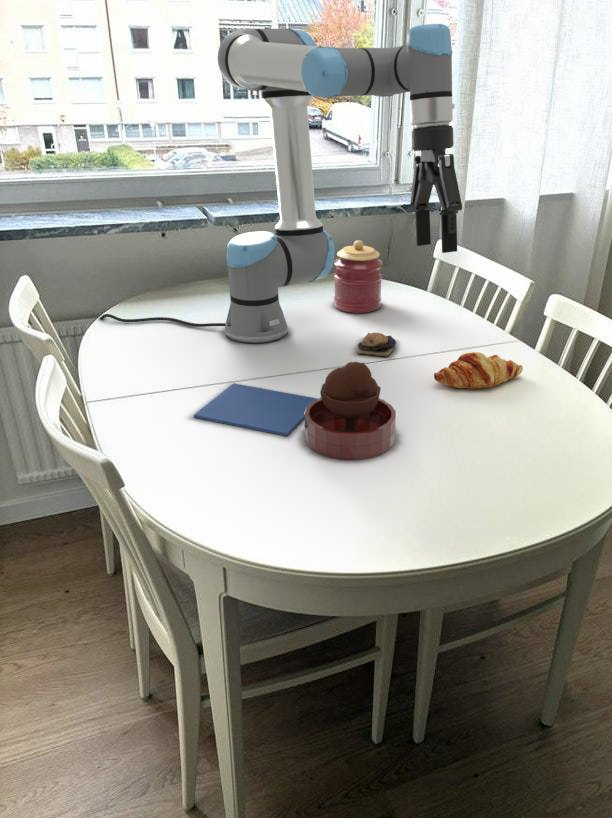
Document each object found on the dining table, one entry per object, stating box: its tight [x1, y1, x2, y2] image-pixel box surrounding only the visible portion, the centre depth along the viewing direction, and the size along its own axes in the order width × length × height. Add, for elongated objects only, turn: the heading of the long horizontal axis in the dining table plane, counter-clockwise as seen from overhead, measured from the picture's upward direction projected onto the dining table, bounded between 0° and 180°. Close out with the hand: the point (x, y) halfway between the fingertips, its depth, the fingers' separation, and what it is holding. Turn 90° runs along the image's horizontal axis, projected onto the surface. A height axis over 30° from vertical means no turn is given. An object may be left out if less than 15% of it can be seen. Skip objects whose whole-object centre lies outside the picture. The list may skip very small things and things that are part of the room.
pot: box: [304, 397, 397, 461], centre depth 134 cm, size 17×17×5 cm
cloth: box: [193, 383, 318, 437], centre depth 145 cm, size 20×16×1 cm
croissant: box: [433, 351, 524, 390], centre depth 157 cm, size 21×10×8 cm, turn 110°
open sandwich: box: [357, 332, 397, 357], centre depth 173 cm, size 11×8×4 cm
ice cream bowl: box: [319, 361, 381, 432], centre depth 132 cm, size 11×11×15 cm
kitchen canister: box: [333, 239, 383, 314], centre depth 195 cm, size 13×13×18 cm
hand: (436, 248), depth 140 cm, fingers open, 13 cm apart
